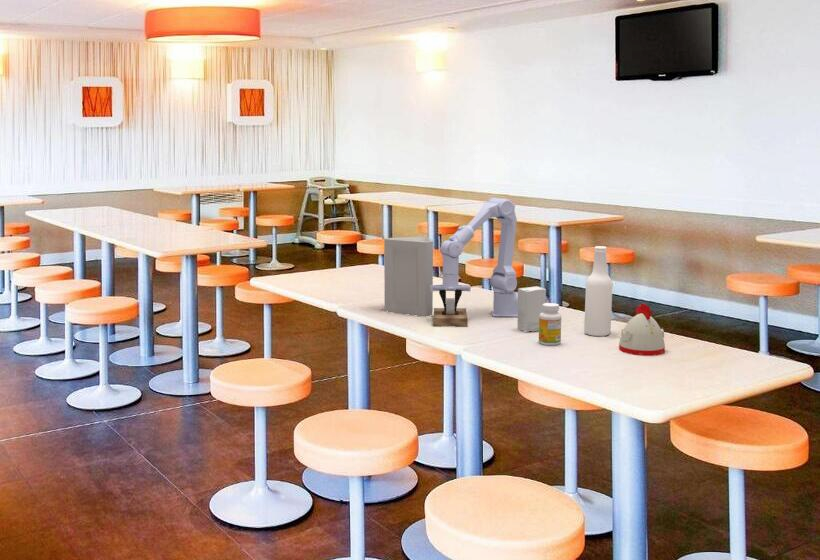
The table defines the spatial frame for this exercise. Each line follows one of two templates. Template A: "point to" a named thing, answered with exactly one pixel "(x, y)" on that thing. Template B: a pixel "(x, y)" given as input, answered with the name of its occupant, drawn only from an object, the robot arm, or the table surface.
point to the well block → (450, 318)
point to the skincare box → (530, 307)
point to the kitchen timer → (642, 334)
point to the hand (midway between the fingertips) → (450, 310)
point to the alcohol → (598, 297)
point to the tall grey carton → (408, 275)
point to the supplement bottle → (550, 325)
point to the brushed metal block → (450, 306)
